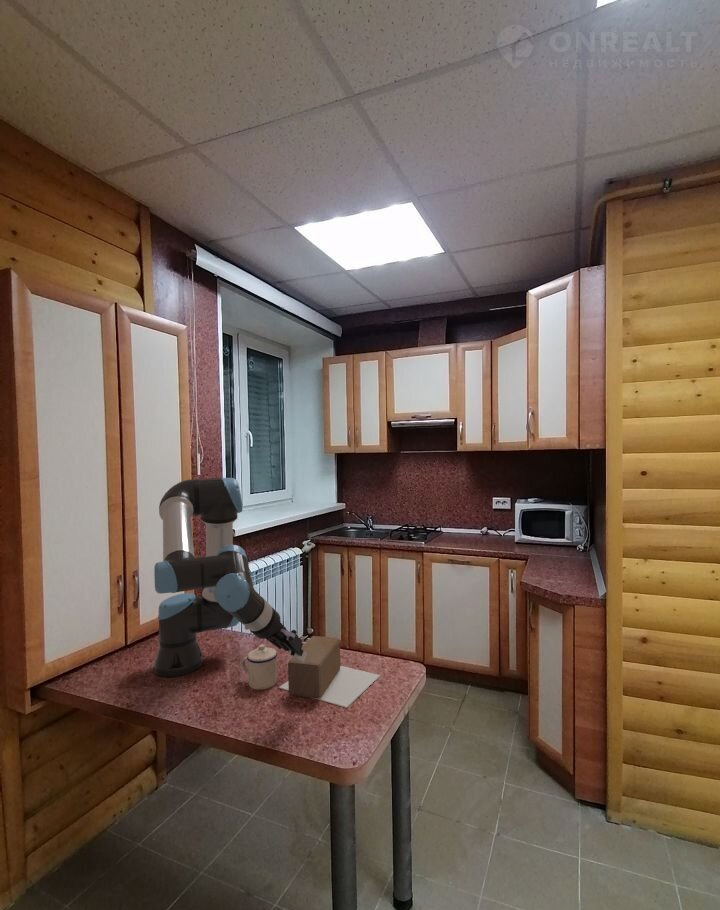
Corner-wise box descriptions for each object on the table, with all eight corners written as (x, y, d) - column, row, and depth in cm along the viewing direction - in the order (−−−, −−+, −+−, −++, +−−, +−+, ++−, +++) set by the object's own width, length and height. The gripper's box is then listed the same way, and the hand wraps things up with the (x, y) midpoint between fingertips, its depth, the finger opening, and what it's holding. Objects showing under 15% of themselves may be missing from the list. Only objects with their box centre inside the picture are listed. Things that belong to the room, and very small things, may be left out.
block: (318, 664, 130) (340, 636, 149) (286, 661, 132) (311, 634, 152) (319, 700, 130) (341, 667, 149) (287, 696, 133) (312, 664, 152)
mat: (279, 688, 138) (278, 687, 138) (317, 660, 155) (317, 660, 155) (346, 708, 126) (346, 707, 126) (380, 676, 143) (380, 675, 143)
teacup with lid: (283, 678, 144) (282, 641, 144) (267, 692, 135) (266, 653, 135) (250, 672, 148) (249, 637, 148) (233, 686, 140) (232, 648, 140)
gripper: (233, 627, 115) (279, 666, 130) (273, 637, 109) (317, 676, 123) (248, 600, 120) (290, 640, 134) (287, 607, 113) (327, 649, 128)
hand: (303, 657), depth 129 cm, fingers closed
